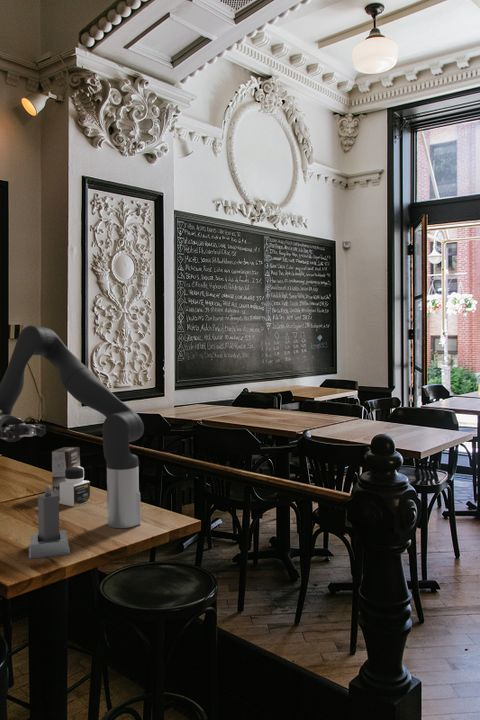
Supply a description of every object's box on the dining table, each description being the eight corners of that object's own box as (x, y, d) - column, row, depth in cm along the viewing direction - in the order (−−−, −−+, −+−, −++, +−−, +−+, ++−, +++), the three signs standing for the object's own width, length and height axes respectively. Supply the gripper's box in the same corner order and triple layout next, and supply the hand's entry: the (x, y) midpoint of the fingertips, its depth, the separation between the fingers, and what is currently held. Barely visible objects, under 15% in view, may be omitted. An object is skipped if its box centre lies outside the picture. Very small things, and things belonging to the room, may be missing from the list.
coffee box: (68, 498, 205) (68, 451, 204) (51, 497, 206) (51, 451, 206) (81, 491, 214) (80, 446, 213) (64, 490, 215) (63, 446, 215)
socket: (67, 541, 162) (67, 529, 162) (70, 554, 153) (70, 541, 153) (28, 545, 159) (28, 533, 159) (28, 559, 149) (28, 545, 149)
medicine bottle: (74, 507, 195) (73, 470, 194) (59, 503, 198) (58, 468, 198) (90, 501, 201) (90, 466, 200) (75, 498, 204) (75, 464, 204)
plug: (53, 544, 159) (52, 483, 158) (59, 548, 156) (58, 486, 155) (38, 548, 156) (37, 486, 155) (44, 552, 153) (43, 489, 152)
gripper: (-17, 417, 177) (1, 423, 165) (31, 413, 186) (51, 419, 174) (-16, 442, 177) (2, 450, 165) (32, 437, 186) (52, 444, 174)
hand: (27, 434), depth 169 cm, fingers open, 8 cm apart
